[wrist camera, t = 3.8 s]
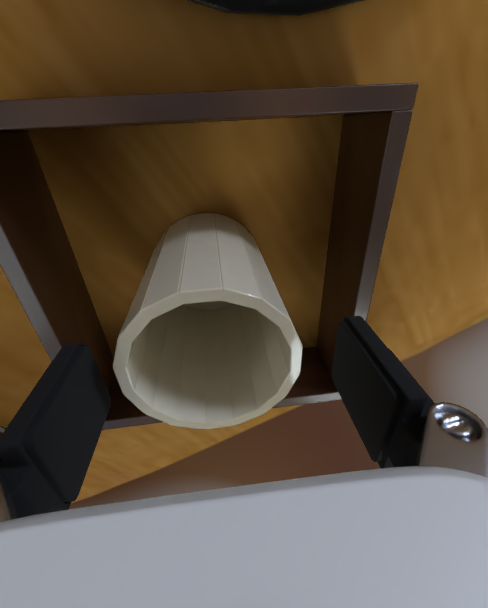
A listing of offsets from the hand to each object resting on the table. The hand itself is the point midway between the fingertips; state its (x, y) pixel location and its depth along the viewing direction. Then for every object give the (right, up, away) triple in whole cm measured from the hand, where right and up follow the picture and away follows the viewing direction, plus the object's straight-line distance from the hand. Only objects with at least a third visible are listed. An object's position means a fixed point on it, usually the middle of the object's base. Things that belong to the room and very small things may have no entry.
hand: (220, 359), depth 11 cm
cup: (-1, +4, +7) cm, 8 cm away
